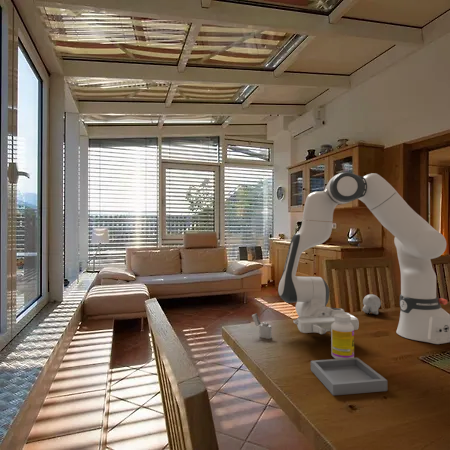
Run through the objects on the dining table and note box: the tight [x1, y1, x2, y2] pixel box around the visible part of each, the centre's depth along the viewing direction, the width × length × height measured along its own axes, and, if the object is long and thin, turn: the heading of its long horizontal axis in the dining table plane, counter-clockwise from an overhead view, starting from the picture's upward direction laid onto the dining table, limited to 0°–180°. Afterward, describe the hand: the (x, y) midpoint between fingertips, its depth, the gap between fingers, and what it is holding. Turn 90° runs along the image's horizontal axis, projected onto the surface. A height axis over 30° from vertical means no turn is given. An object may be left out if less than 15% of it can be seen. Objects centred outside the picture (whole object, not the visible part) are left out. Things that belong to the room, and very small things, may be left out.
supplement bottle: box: [330, 313, 355, 359], centre depth 103 cm, size 7×7×13 cm
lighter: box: [251, 313, 272, 340], centre depth 123 cm, size 7×2×8 cm, turn 59°
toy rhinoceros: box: [362, 293, 382, 316], centre depth 152 cm, size 7×12×8 cm, turn 142°
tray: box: [310, 357, 388, 396], centre depth 89 cm, size 14×14×3 cm
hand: (337, 330), depth 107 cm, fingers open, 8 cm apart
